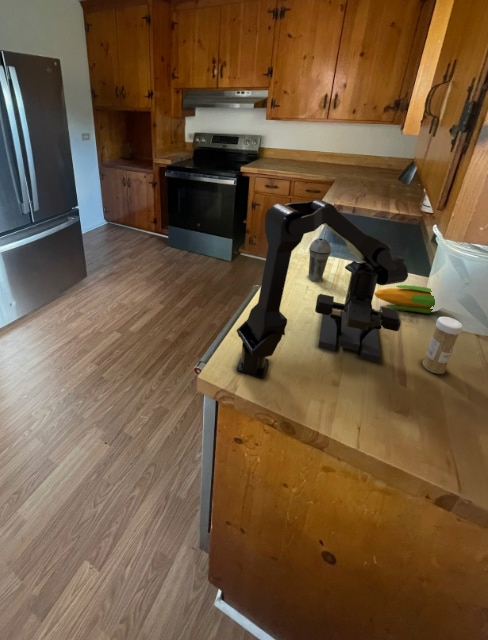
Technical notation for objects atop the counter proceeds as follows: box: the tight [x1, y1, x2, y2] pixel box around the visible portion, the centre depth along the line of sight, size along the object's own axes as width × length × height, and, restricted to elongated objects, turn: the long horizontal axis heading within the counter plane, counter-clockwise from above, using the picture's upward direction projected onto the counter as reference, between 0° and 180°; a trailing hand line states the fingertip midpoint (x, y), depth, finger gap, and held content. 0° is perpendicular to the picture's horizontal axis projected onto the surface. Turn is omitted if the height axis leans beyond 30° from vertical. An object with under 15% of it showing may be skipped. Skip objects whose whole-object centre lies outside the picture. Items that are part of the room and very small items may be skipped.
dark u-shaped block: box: [317, 312, 381, 364], centre depth 91 cm, size 18×14×2 cm
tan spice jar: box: [422, 316, 463, 375], centre depth 77 cm, size 5×5×14 cm
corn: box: [374, 284, 435, 314], centre depth 102 cm, size 7×8×20 cm
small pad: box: [338, 327, 360, 352], centre depth 86 cm, size 6×4×2 cm
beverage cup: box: [308, 226, 332, 282], centre depth 117 cm, size 7×7×20 cm
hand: (349, 338), depth 86 cm, fingers closed on small pad, 4 cm apart
